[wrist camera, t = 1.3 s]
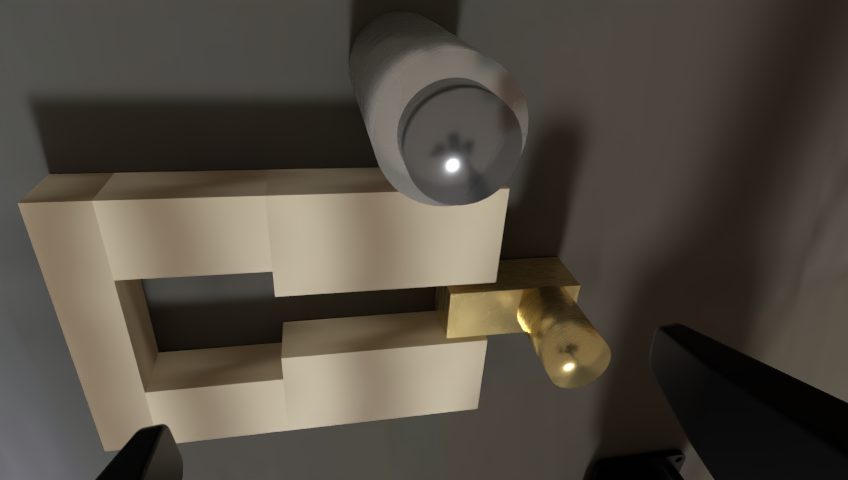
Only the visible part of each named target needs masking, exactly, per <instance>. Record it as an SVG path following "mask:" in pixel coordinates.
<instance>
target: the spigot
mask: <svg viewBox="0 0 848 480" xmlns="http://www.w3.org/2000/svg"><path fill="white" fill-rule="evenodd" d="M349 75H350V80H351V83H352V86H353V89H354V92H355V95H356V99H357V102H358V105H359V108H360V111H361V114H362V117H363V120H364V123H365V126H366V129H367V132H368V135H369V138H370V141H371V144H372V147H373V150H374V153H375V156H376V159H377V162H378V165H379V167H380V169H381V171H382V172H383V174H384V175H385V177H386V178H387V180H388V181H389V182H390V183H391V184H392V185H393V186H394V188H396V189H397V190H398V191H399V192H401V193H402V194H403V195H405V196H407V197H408V198H410V199H412V200H415V201H417V202H419V203H423V204H427V205H432V206H456V205H468V204H472V203H476V202H479V201H481V200H484V199H486V198H488V197H489V196H491V195H493V194H494V193H495V192H497V191H498V190H499V189H500V188H501V187H502V186H503V185H504V184H505V183H506V182H507V181H508V180H509V179H510V177H511V176H512V174H513V173H514V171H515V169H516V167H517V165H518V162H519V159H520V156H521V154H522V151H523V148H524V145H525V142H526V137H527V132H528V112H527V106H526V102H525V99H524V96H523V93H522V91H521V89H520V87H519V85H518V84H517V82H516V81H515V79H514V78H513V77H512V75H511V74H510V73H509V72H508V71H507V70H506V69H505V68H503V67H502V66H501V65H500V64H499V63H497V62H495V61H494V60H492V59H491V58H489V57H488V56H486V55H484V54H483V53H481V52H480V51H478V50H477V49H475V48H474V47H472V46H470V45H469V44H467V43H466V42H464V41H463V40H461V39H459V38H458V37H456V36H455V35H453V34H452V33H450V32H449V31H447V30H445V29H444V28H442V27H441V26H439V25H438V24H436V23H435V22H433V21H431V20H430V19H428V18H426V17H425V16H423V15H420V14H418V13H414V12H409V11H394V12H389V13H386V14H383V15H381V16H379V17H377V18H375V19H374V20H372V21H371V22H369V23H368V24H367V25H366V26H365V27H364V28H363V29H362V31H361V32H360V33H359V35H358V36H357V38H356V39H355V42H354V44H353V46H352V49H351V52H350V58H349Z"/></svg>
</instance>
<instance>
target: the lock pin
mask: <svg viewBox="0 0 848 480" xmlns="http://www.w3.org/2000/svg"><path fill="white" fill-rule="evenodd" d="M579 289H580V284H579V283H578V282H577V281H576V279H575V278H574V277H573V276H572V274H571V273H570V272H569V271H568V269H567V268H566V267H565V266H564V264H563V263H562V262H561V261H560V259H559V258H558V257H545V258H527V259H510V260H499V264H498V271H497V278H496V282H494V283H479V284H463V285H448V286H436V294H435V308H436V311H437V314H438V316H439V319H440V322H441V325H442V328H443V330H444V333H445V336H446V338H458V337H469V336H481V335H492V334H504V333H515V332H525V334H526V336H527V338H528V339H529V341H530V343H531V345H532V347H533V348H534V350H535V352H536V354H537V355H538V357H539V359H540V361H541V363H542V364H543V366H544V368H545V370H546V371H547V373H548V375H549V377H550V379H551V380H552V382H553V383H554V384H556V385H557V386H559V387H563V388H578V387H581V386H584V385H587V384H589V383H591V382H593V381H594V380H596V379H597V378H598V377H599V376H600V375H601V374H602V373H603V372H604V371H605V370H606V368H607V367H608V365H609V362H610V358H611V351H610V348H609V347H608V345H607V344H606V342H605V341H604V340H603V338H602V337H601V336H600V334H599V333H598V332H597V330H596V329H595V328H594V326H593V325H592V324H591V322H590V321H589V320H588V318H587V317H586V316H585V314H584V313H583V312H582V310H581V309H580V308H579V306H578V305H577V304H576V302H577V297H578V293H579Z"/></svg>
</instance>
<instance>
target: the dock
mask: <svg viewBox="0 0 848 480" xmlns="http://www.w3.org/2000/svg"><path fill="white" fill-rule="evenodd" d="M508 195H509V187H508V186H507V185H506V184H504V185H503V186H502V187H501V188H500V189H499V190H498V191H497V192H495V193H494V194H493V195H491V196H489V197H488V198H486V199H484V200H481V201H479V202H476V203H472V204H468V205H456V206H432V205H427V204H423V203H419V202H417V201H415V200H412V199H410V198H408V197H407V196H405V195H403V194H402V193H401V192H399V191H398V190H397V189H396V188H394V186H393V185H392V184H391V183H390V182H389V181H388V180H387V178H386V177H385V175H384V174H383V172H382V171H381V169H380V167H375V168H326V169H277V170H227V171H178V172H128V173H79V174H49V175H48V176H47V177H45V178H44V179H43V180H42V181H41V182H40V183H39V184H38V185H37V186H36V187H35V188H34V189H32V190H31V191H30V192H29V193H28V194H27V195H26V196H25V197H24V198H23V199H22V200H21V201H20V202H18V205H19V208H20V211H21V214H22V217H23V219H24V222H25V225H26V228H27V231H28V234H29V237H30V239H31V242H32V245H33V248H34V251H35V254H36V256H37V259H38V262H39V265H40V268H41V271H42V274H43V276H44V279H45V282H46V285H47V288H48V291H49V293H50V296H51V299H52V302H53V305H54V308H55V311H56V313H57V316H58V319H59V322H60V325H61V328H62V330H63V333H64V336H65V339H66V342H67V345H68V348H69V350H70V353H71V356H72V359H73V362H74V365H75V367H76V370H77V373H78V376H79V379H80V382H81V385H82V387H83V390H84V393H85V396H86V399H87V402H88V404H89V407H90V410H91V413H92V416H93V419H94V421H95V424H96V427H97V430H98V433H99V436H100V439H101V441H102V444H103V447H104V450H105V451H113V450H121V449H122V448H123V447H124V446H125V444H126V443H127V442H128V441H129V440H130V439H131V437H132V436H133V435H134V434H135V433H136V432H137V431H138V430H139V429H141V428H144V427H149V426H154V425H159V424H165V425H167V426H168V427H169V429H170V431H171V433H172V435H173V437H174V439H175V441H176V443H183V442H191V441H200V440H209V439H217V438H226V437H235V436H244V435H252V434H261V433H270V432H278V431H287V430H296V429H305V428H313V427H322V426H331V425H339V424H348V423H357V422H366V421H374V420H383V419H392V418H400V417H409V416H418V415H426V414H435V413H444V412H453V411H461V410H470V409H477V408H478V401H479V394H480V387H481V380H482V373H483V367H484V360H485V353H486V346H487V338H486V336H485V335H481V336H469V337H458V338H446V336H445V333H444V330H443V328H442V325H441V322H440V319H439V316H438V314H437V311H424V312H411V313H398V314H385V315H371V316H358V317H345V318H332V319H319V320H305V321H292V322H283V335H282V342H281V343H269V344H257V345H245V346H233V347H221V348H208V349H196V350H184V351H172V352H160V353H159V352H158V348H157V344H156V340H155V335H154V331H153V327H152V323H151V319H150V315H149V311H148V307H147V303H146V299H145V295H144V291H143V287H142V283H141V279H149V278H167V277H184V276H202V275H220V274H237V273H255V272H272V271H273V280H274V290H275V297H282V296H297V295H312V294H327V293H343V292H358V291H373V290H388V289H403V288H418V287H433V286H448V285H463V284H479V283H494V282H496V278H497V271H498V264H499V257H500V250H501V243H502V236H503V230H504V223H505V216H506V209H507V202H508Z"/></svg>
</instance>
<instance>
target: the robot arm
mask: <svg viewBox="0 0 848 480" xmlns="http://www.w3.org/2000/svg"><path fill="white" fill-rule="evenodd" d="M649 363H650V367H651V370H652V372H653V374H654V376H655V378H656V380H657V381H658V383H659V385H660V387H661V389H662V391H663V393H664V395H665V397H666V399H667V400H668V402H669V404H670V406H671V408H672V410H673V412H674V414H675V416H676V418H677V420H678V421H679V423H680V425H681V427H682V429H683V431H684V433H685V434H686V436H687V438H688V440H689V441H690V443H691V445H692V446H693V448H694V449H695V451H696V452H697V454H698V455H699V457H700V458H701V460H702V462H703V463H704V465H705V466H706V468H707V469H708V471H709V472H710V474H711V475H712V477H713V478H714V480H848V403H847V402H845V401H843V400H840V399H838V398H836V397H834V396H832V395H830V394H828V393H826V392H824V391H821V390H819V389H817V388H815V387H813V386H811V385H809V384H807V383H804V382H802V381H800V380H798V379H796V378H794V377H792V376H790V375H788V374H785V373H783V372H781V371H779V370H777V369H775V368H773V367H771V366H769V365H766V364H764V363H762V362H760V361H758V360H756V359H754V358H752V357H750V356H747V355H745V354H743V353H741V352H739V351H737V350H735V349H733V348H731V347H728V346H726V345H724V344H722V343H720V342H718V341H716V340H714V339H712V338H709V337H707V336H705V335H703V334H701V333H699V332H697V331H695V330H693V329H690V328H688V327H686V326H684V325H682V324H679V323H674V324H668V325H663V326H659V327H658V328H657V329H656V330H655V333H654V337H653V342H652V347H651V351H650V356H649ZM684 460H685V455H684V454H683V452H682V451H681V450H673V451H666V452H659V453H652V454H645V455H638V456H631V457H623V458H616V459H609V460H603V461H600V462H598V463H597V464H596V465H595V467H594V470H593V473H592V476H591V479H590V480H684V479H683V477H682V476H681V475H680V473H679V472H680V469H681V467H682V465H683V463H684ZM182 477H183V459H182V455H181V452H180V450H179V448H178V446H177V444H176V441H175V439H174V437H173V435H172V433H171V431H170V429H169V427H168V426H167V425H165V424H159V425H154V426H149V427H144V428H141V429H139V430H138V431H137V432H136V433H135V434H134V435H133V436H132V437H131V439H130V440H129V441H128V442H127V443H126V444H125V446H124V447H123V448H122V449H121V450H120V451H119V453H118V454H117V455H116V456H115V457H114V458H113V460H112V461H111V462H110V463H109V464H108V465H107V467H106V468H105V469H104V470H103V471H102V472H101V474H100V475H99V476H98V477H97V478H96V479H95V480H182Z"/></svg>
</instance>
